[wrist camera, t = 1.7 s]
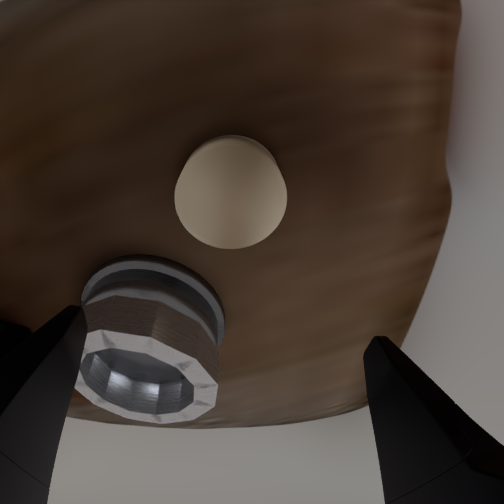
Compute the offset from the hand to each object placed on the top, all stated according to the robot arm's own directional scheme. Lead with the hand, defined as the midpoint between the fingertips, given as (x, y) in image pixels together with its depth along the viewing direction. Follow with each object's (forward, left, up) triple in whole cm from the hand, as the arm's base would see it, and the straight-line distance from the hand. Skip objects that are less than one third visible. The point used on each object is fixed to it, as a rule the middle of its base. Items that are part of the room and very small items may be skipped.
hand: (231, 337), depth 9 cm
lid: (0, 0, -12) cm, 12 cm away
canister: (-5, -12, -12) cm, 18 cm away
